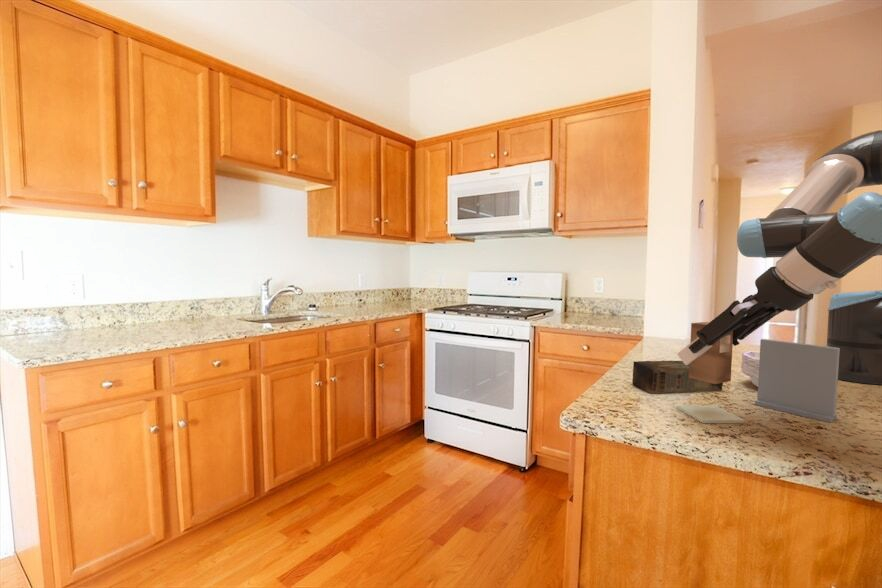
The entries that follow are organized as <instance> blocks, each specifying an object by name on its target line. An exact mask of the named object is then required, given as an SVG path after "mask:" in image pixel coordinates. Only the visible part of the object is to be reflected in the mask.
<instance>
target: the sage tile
mask: <svg viewBox="0 0 882 588" xmlns="http://www.w3.org/2000/svg"><path fill="white" fill-rule="evenodd" d="M676 409H677V410H679V411H680V410H681V412H682V411H683V412H682V413H684V414H685V415H687V414H688V416H689V415H690V416H689V417H691V416H692V417H694V418H695V419H694V418H693V419H694V420H696V419H697V420H696V421H698V420H699V421H700V423H701V422H702V423H701V424H744V423H745V420H744V419H743V418H741V417H739V416H737V415H735V414H733V413H731V412H729V411H727V410H725V409H723V408H721V407H719V406H717V405H714V404H713V405H711V404H709V405H704V404H703V405H700V404H699V405H697V404H696V405H693V404H692V405H689V404H687V405H681V404H679V405H676ZM692 417H691V418H692ZM699 421H698V422H699Z"/></svg>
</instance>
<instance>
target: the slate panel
mask: <svg viewBox="0 0 882 588" xmlns="http://www.w3.org/2000/svg"><path fill="white" fill-rule="evenodd" d="M759 343H760V345H759V351H760V360H759V379H758V387H757V398H756V400H754V406H758V407H763V408H767V409H771V410H776V411H780V412H784V413H787V414H793V415H796V416H802V417H805V418H809V419H814V420H818V421H822V422H827V423H832V422H834V421H835V420H837V419H838V413H837V411H836V410H837V409H836V408H837V396H838V383H839V381H838V380H839V379H838V369H839V354H840V348H835V347H827V346H826V345H818V344H810V343H808V344H807V343H803V342H792V341H784V340H779V339H778V340H775V339H767V338H762V339H760V342H759Z"/></svg>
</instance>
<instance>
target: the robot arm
mask: <svg viewBox="0 0 882 588" xmlns="http://www.w3.org/2000/svg"><path fill="white" fill-rule="evenodd" d="M881 185H882V129H881V130H880V129H879V130H874V131H870V132H867V133H866V132H865V133H864V134H860V135H858V136H856V137H852V138H851V139H848V140H846V141H844V142H842V143H840V144H839V145H836V146H835V147H833V148H831V149H830V150H828V151H827V152H825V153H823V154H822V155H821V156H819V158H817V159H816V160H814V162H813V163H811V165H810V166H809V167H808V169H807V171H806V173H805V178H804V179H803V180H802V181H801V182H800V183H799V184H797V186H796V187H795V188H794V189H793V190H792V191H791V192H790V193H789V194H788V195H787V196H786V197H785V198H784V199H783V200H782V201H781V202H780V203H779V204H778V205H777V206H776V207H775V208H774V209H773V210H772V212H770V213H769V215H767V216H766V217H764V218H762V217H761V218H760V217H757V218H755V219H754V218H753V219H747V220H745V221H743V222H742V223H741V224H740V225H739V228H738V229H737V234H736V244H737V248H738V251H739V252H740V254H741V255H742V256H744V257H746V258H762V259H768V258H779V259H778V260H777V261H776V262H775V266H770V267H769V268H768V269H767V270H765V271H764V272H763V273H762V274H761V275H759V276H758V277H757V278H756V279H755V281H754V285H755V288H756V290H757V292H756V293H754V294H750V295H748V296H746V297H745V298H744V299H743V300H742V302H740V301H739V300H735V301H733V302H732V303H730V305H729V306H728V307H727V308H726V309H725V310H723V311H722V312H721V313H720V314H718V315H717V316H716V317H715V318H713V319H712V320H710V321H709V322H710V323H708V324H707V325H706V326H705V327H703V328H702V329H701V330H700V331H699V330H698V331H697V333H696V335H697V336H698V338H696V339H695V340H694V341H693V342H691V341H690V343H689V344H688V345H686V346H685V347H684V348H683V349H681V350H680V351H679V352H678V353H677V354H676V355H677V356H678V358H679V359H680V361H683V362H684V364H685V365H689V364H690V363H691V362H693V361H694V360H695V359H697V358H698V357H699V356H701V355H702V354H703V353H705V352H706V351H707V350H709V349H710V348H711V347H713V346H712V345H713V344H714V343H715V342H717V341H718V340H720V339H721V338H723V337H724V336H726V335H727V334H729V333H731V332H732V331H733V344H732V346H734V347H735V346H736V347H737V346H738V345H740V342H739V341H742V340H744V339H745V338H747V337H748V336H749V335H750V334H752V333H754V332H755V331H756V330H757V329H759V328H760V327H762V326H763V325H765V324H766V323H768V322H769V321H770V320H771V319H773V318H774V317H776V316H777V315H779V314H781V313H784V312H785V311H789V312H795V311H797V310H799V309H800V308H801V307H803V306H804V305H806V304H807V303H808V302H810V301H812V300H813V299H814V297H815V295H819V294H821V293H822V292H823V291H825V290H827V289H830V290H833V289H835V288H836V287H837V284H836V282H837V281H839V280H840V279H842V278H844V277H845V276H847V275H848V274H849V273H850V272H852V271H854V270H855V269H857V268H858V267H861V265H863V264H864V263H866V262H867V261H869V260H870V259H872V258H873V257H876V256H882V194H879V193H878V192H873V191H868V192H864V193H861V194H860V195H858V196H857V197H855V198H854V199H853V200H851V201H850V202H849V203H847V204H845V205H844V206H842V207H841V208H840V209H839V210H838V211H836V212H830V211H831V210H832V209H833V208H834V207H835V206H836V204H838V202H839V200H841V198H842V197H843V196H844V195H846V194H849V193H850V192H852V191H854V190H855V189H858V188H863V187H871V186H872V187H873V186H881ZM827 311H828V315H827V317H828V318H827V336H826V337H827V338H826V345H825V346H827V347H835V348H840V354H839V369H838V380H840V381H841V380H842V381H847V382H854V383H860V384H868V385H869V384H870V385H882V290H866V291H865V290H863V291H848V292H838V293H834V294H833V295H832V296H830V299H829V305H828V308H827ZM738 340H739V341H738Z"/></svg>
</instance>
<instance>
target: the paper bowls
mask: <svg viewBox="0 0 882 588" xmlns="http://www.w3.org/2000/svg"><path fill="white" fill-rule="evenodd" d="M759 360H760V350H750V351H749V350H748V351H744V352H742V355H741V367H740V368H741V369H740V370H741V373H742V374H744V375H746V376H748V377H749V379H750V381H751V383H752V384H753V385H754V386H755V387H757V388H758V379H759Z"/></svg>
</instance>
